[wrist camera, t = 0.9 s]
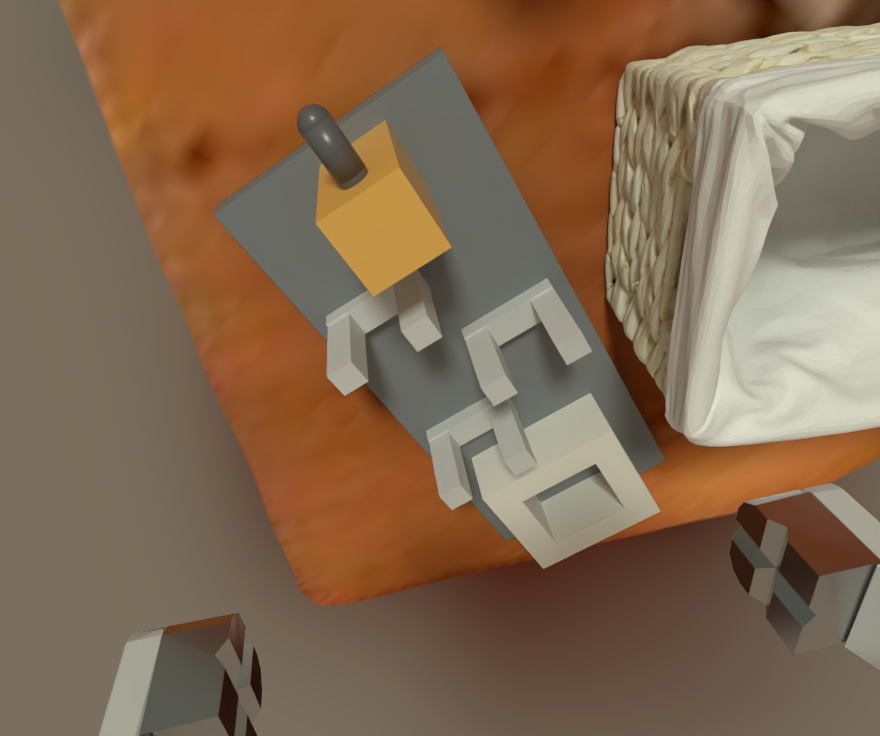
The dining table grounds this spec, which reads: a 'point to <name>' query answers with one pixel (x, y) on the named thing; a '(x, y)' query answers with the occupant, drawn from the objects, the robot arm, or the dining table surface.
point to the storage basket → (753, 234)
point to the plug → (372, 201)
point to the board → (465, 329)
